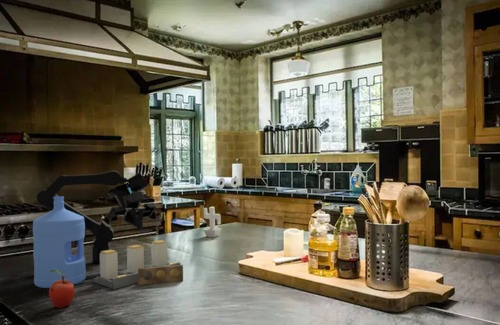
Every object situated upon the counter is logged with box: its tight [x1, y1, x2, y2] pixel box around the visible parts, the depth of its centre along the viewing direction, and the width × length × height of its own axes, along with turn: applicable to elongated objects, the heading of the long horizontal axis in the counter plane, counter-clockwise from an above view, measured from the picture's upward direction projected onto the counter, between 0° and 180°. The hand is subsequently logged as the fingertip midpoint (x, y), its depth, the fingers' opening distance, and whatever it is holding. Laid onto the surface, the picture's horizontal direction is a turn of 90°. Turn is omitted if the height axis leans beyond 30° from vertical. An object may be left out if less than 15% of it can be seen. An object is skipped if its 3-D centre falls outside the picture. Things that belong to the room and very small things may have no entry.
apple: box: [48, 270, 76, 309], centre depth 115 cm, size 8×7×10 cm
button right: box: [150, 239, 169, 267], centre depth 153 cm, size 4×4×9 cm
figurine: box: [202, 206, 223, 238], centre depth 217 cm, size 7×9×15 cm
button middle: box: [126, 244, 145, 273], centre depth 145 cm, size 4×4×9 cm
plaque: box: [137, 264, 184, 286], centre depth 136 cm, size 14×2×5 cm, turn 103°
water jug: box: [32, 195, 87, 289], centre depth 139 cm, size 16×16×28 cm
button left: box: [99, 249, 119, 280], centre depth 138 cm, size 4×4×9 cm
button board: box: [93, 261, 181, 290], centre depth 144 cm, size 12×26×3 cm, turn 138°
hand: (141, 228), depth 161 cm, fingers closed
